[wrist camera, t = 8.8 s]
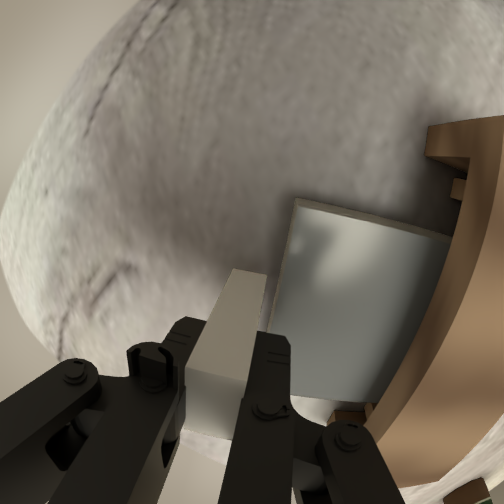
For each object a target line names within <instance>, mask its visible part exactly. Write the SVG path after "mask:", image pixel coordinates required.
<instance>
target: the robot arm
mask: <svg viewBox="0 0 504 504" xmlns="http://www.w3.org/2000/svg"><path fill="white" fill-rule="evenodd" d="M266 279H267V275H265V274H260V273H254V272H249V271H244V270H239V269H234V268H233V270H232V272H231V274H230V276H229V278H228V280H227V282H226V284H225V286H224V288H223V290H222V292H221V294H220V296H219V298H218V300H217V302H216V304H215V306H214V308H213V310H212V312H211V314H210V316H209V318H208V321H204V320H199V319H195V318H191V317H187V316H185V317H184V318H182V319H180V320H179V321H177V322H175V324H174V325H173V327H172V328H171V330H170V332H169V333H168V334H167V336H166V337H165V340H163V342H162V343H156V342H142V343H139V344H136V345H133V346H132V347H131V348H129V349H128V350H127V360H128V367H129V376H128V377H113V376H104V375H99V374H98V371H97V368H96V367H95V366H94V365H93V364H92V363H91V362H89V361H87V360H85V359H78V358H74V359H67V360H65V361H63V362H61V363H59V364H57V365H56V366H54V367H53V368H51V369H50V370H49V371H47V372H45V373H44V374H42V375H41V376H40V377H38V378H36V379H35V380H33V381H32V382H30V383H29V384H27V385H26V386H24V387H23V388H21V389H20V390H18V391H17V392H15V393H14V394H12V395H11V396H9V397H8V398H6V399H5V400H4V401H2V402H0V504H45V503H46V502H47V501H49V502H48V504H157V502H158V499H159V496H160V494H161V491H162V488H163V486H164V483H165V480H166V478H167V475H168V473H169V470H170V467H171V465H172V462H173V459H174V456H175V454H176V451H177V449H178V446H179V442H180V431H181V429H182V426H183V424H184V429H186V430H189V431H193V432H197V433H201V434H205V435H209V436H213V437H218V438H222V439H227V440H232V444H231V448H230V453H229V457H228V461H227V466H226V470H225V474H224V479H223V483H222V487H221V491H220V495H219V500H218V504H291V493H292V487H293V491H294V494H295V498H296V503H297V504H405V502H404V500H403V498H402V496H401V494H400V491H399V489H398V487H397V485H396V483H395V481H394V479H393V477H392V475H391V473H390V471H389V469H388V467H387V465H386V463H385V461H384V459H383V457H382V455H381V453H380V451H379V449H378V447H377V445H376V442H375V441H374V439H373V437H372V435H371V433H370V432H369V431H368V429H367V428H366V427H364V426H363V425H361V424H360V423H358V422H354V421H351V420H338V421H334V422H331V423H330V424H329V425H328V426H327V427H325V426H323V425H320V424H317V423H314V422H311V421H309V420H307V419H305V418H303V417H302V416H301V415H299V414H298V413H297V412H296V411H295V409H294V408H293V406H292V404H291V400H290V381H291V366H290V365H291V345H290V343H289V341H288V340H287V338H286V336H283V335H278V334H272V333H266V332H261V331H257V328H258V323H259V317H260V312H261V307H262V301H263V296H264V290H265V285H266Z"/></svg>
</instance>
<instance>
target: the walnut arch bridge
mask: <svg viewBox="0 0 504 504" xmlns="http://www.w3.org/2000/svg"><path fill="white" fill-rule="evenodd" d="M424 156H426V157H429V158H432V159H434V160H437V161H439V162H442V163H444V164H447V165H449V166H452V167H454V168H456V169H459V170H461V171H463V172H465V173H468V176H467V180H463V179H458V178H454V180H453V185H452V190H451V195H450V197H452V198H454V199H457V200H459V201H462V205H461V209H460V213H459V217H458V221H457V225H456V229H455V232H454V236H453V239H452V242H451V246H450V249H449V252H448V255H447V258H446V261H445V264H444V267H443V270H442V273H441V276H440V279H439V281H438V284H437V287H436V289H435V292H434V294H433V297H432V299H431V302H430V304H429V307H428V309H427V311H426V314H425V316H424V318H423V321H422V323H421V325H420V327H419V329H418V331H417V334H416V336H415V338H414V340H413V342H412V344H411V346H410V348H409V350H408V352H407V354H406V356H405V358H404V360H403V361H402V363H401V365H400V367H399V369H398V371H397V373H396V374H395V376H394V378H393V380H392V381H391V383H390V385H389V386H388V388H387V390H386V391H385V393H384V395H383V396H382V398H381V400H380V401H379V403H367V404H366V405H365V407H364V410H365V412H348V411H335V410H334V412H333V413H332V415H331V417H330V419H329V420H328V422H327V426H328V425H329V424H330V423H331V422H334V421H338V420H351V421H354V422H358V423H360V424H361V425H363V426H364V427H366V428H367V429H368V431H369V432H370V433H371V435H372V437H373V439H374V441H375V442H376V445H377V447H378V449H379V451H380V453H381V455H382V457H383V459H384V461H385V463H386V465H387V467H388V469H389V471H390V473H391V475H392V477H393V479H394V481H395V483H396V485H397V487H398V488H404V487H410V486H416V485H421V484H427V483H431V482H436V481H439V480H440V479H441V478H442V477H443V476H445V475H446V474H447V473H448V472H449V471H450V470H451V469H452V468H453V467H454V466H456V465H457V464H458V463H459V462H460V461H461V460H462V459H463V458H464V457H465V456H466V455H467V454H468V453H469V452H470V451H471V450H472V449H473V448H474V447H475V446H476V445H477V444H478V442H479V441H480V440H481V439H482V438H483V437H484V436H485V435H486V434H487V433H488V431H489V430H490V429H491V428H492V427H493V426H494V424H495V423H496V422H497V421H498V419H499V418H500V417H501V416H502V414H503V413H504V115H501V116H493V117H485V118H477V119H470V120H464V121H457V122H451V123H445V124H439V125H434V126H429V127H428V134H427V141H426V148H425V154H424Z"/></svg>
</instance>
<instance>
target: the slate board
mask: <svg viewBox="0 0 504 504" xmlns="http://www.w3.org/2000/svg"><path fill="white" fill-rule="evenodd" d="M452 239H453V237H451V236H447V235H444V234H441V233H438V232H434V231H431V230H427V229H424V228H420V227H417V226H413V225H410V224H406V223H402V222H399V221H395V220H391V219H387V218H384V217H380V216H376V215H372V214H368V213H364V212H360V211H356V210H351V209H347V208H343V207H339V206H334V205H330V204H325V203H321V202H316V201H312V200H307V199H302V198H297V197H296V198H295V203H294V208H293V213H292V218H291V223H290V228H289V232H288V237H287V242H286V247H285V251H284V256H283V261H282V265H281V270H280V274H279V279H278V283H277V288H276V292H275V296H274V301H273V305H272V309H271V314H270V318H269V322H268V327H267V331H266V333H272V334H278V335H283V336H286V338H287V340H288V341H289V343H290V345H291V365H290V366H291V381H290V395H294V396H301V397H309V398H318V399H327V400H338V401H350V402H366V403H379V401H380V400H381V398H382V396H383V395H384V393H385V391H386V390H387V388H388V386H389V385H390V383H391V381H392V380H393V378H394V376H395V374H396V373H397V371H398V369H399V367H400V365H401V363H402V361H403V360H404V358H405V356H406V354H407V352H408V350H409V348H410V346H411V344H412V342H413V340H414V338H415V336H416V334H417V331H418V329H419V327H420V325H421V323H422V321H423V318H424V316H425V314H426V311H427V309H428V307H429V304H430V302H431V299H432V297H433V294H434V292H435V289H436V287H437V284H438V281H439V279H440V276H441V273H442V270H443V267H444V264H445V261H446V258H447V255H448V252H449V249H450V246H451V242H452Z"/></svg>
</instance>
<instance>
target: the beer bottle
mask: <svg viewBox="0 0 504 504" xmlns="http://www.w3.org/2000/svg"><path fill="white" fill-rule="evenodd" d="M443 502H444V504H493V503H492V500H491V498H490V494H489V491H488V489H487V486H486V484H485V481H484V479H483V478H479V479H476V480H473V481H470V482H468V483H467V484H465V485H463V486H461V487H459V488H457V489H455V490H454V491H453V492H451V493H450V494H449V495H447V496H446V497H445V498H444V499H443Z"/></svg>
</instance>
